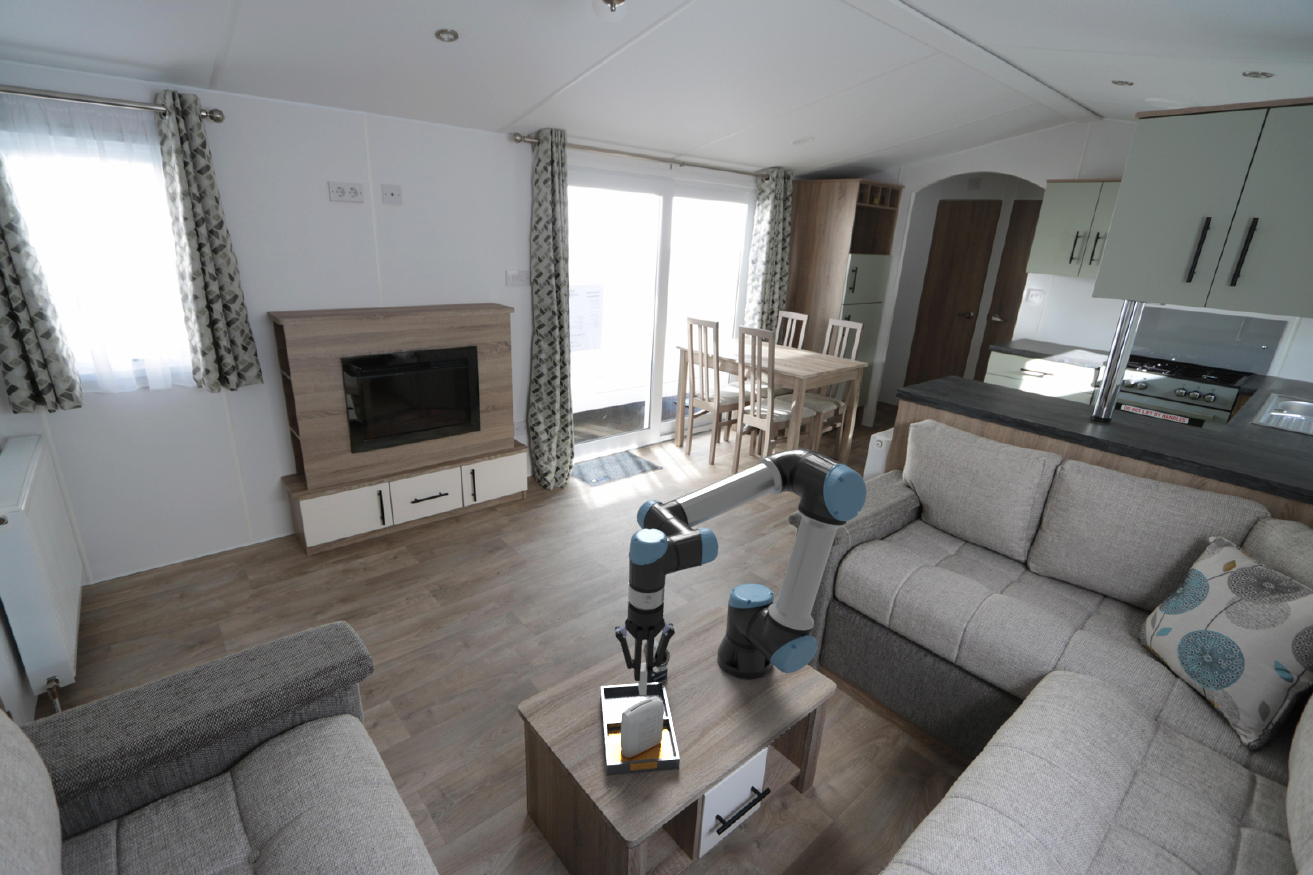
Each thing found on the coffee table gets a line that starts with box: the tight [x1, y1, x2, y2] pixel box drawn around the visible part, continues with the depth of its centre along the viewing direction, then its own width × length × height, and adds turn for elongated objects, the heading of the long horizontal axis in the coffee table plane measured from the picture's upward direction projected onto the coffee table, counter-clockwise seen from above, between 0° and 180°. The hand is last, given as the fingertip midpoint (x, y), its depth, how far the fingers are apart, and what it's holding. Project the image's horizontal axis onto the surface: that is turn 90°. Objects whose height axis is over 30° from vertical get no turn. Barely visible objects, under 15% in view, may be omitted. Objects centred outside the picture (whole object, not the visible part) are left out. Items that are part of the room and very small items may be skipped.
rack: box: [600, 681, 681, 776], centre depth 146 cm, size 16×24×3 cm
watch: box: [642, 639, 671, 683], centre depth 162 cm, size 6×8×11 cm
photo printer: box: [620, 697, 664, 758], centre depth 139 cm, size 10×4×12 cm, turn 123°
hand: (642, 690), depth 135 cm, fingers closed
